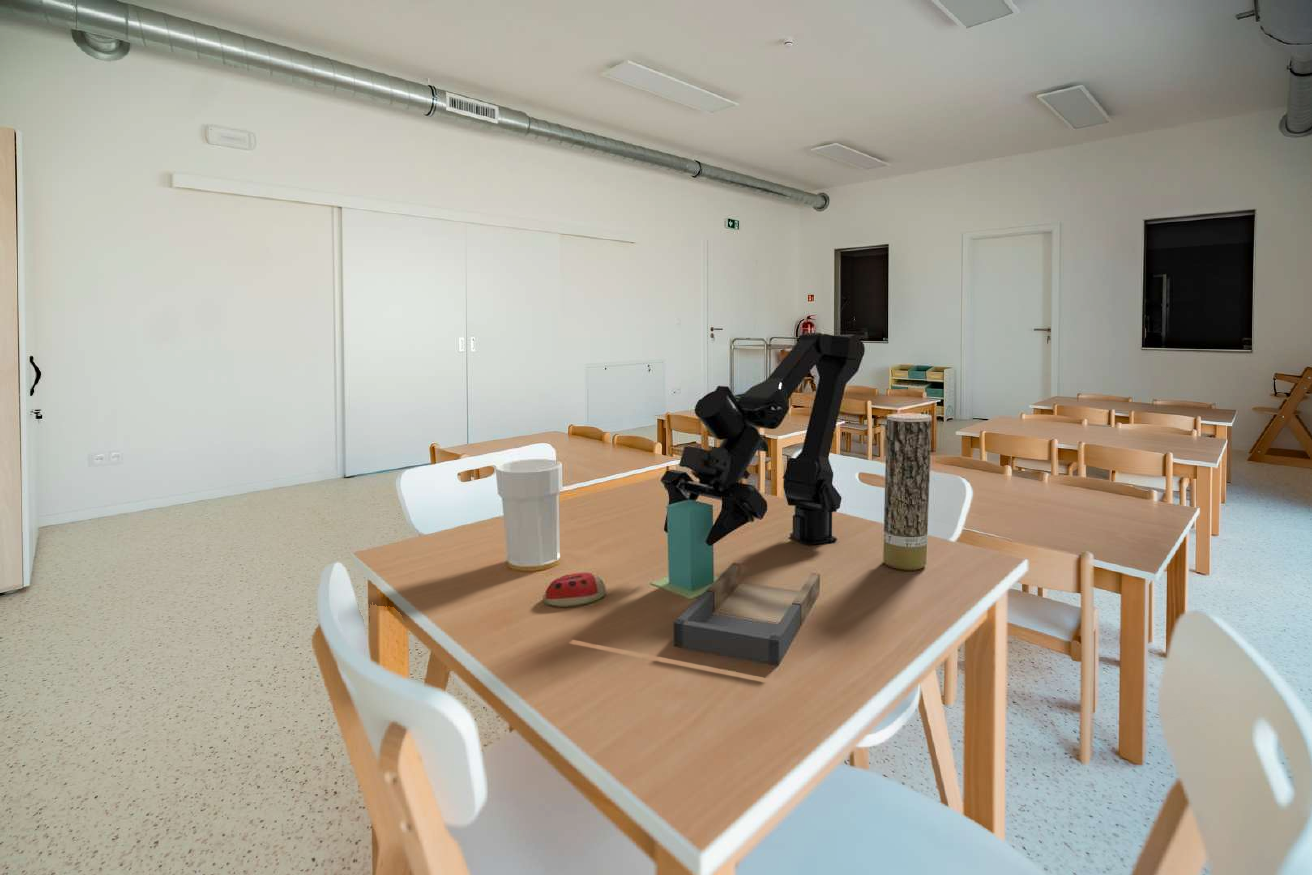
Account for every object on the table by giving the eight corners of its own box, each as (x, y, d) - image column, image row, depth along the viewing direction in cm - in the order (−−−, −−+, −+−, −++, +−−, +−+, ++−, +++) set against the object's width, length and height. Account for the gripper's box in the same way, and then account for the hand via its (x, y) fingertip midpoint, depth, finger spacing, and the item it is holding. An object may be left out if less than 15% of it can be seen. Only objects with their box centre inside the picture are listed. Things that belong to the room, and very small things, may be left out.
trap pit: (705, 614, 95) (705, 591, 95) (800, 630, 90) (800, 605, 89) (674, 648, 86) (673, 622, 85) (778, 668, 80) (778, 640, 79)
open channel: (733, 584, 107) (733, 562, 106) (819, 596, 101) (819, 573, 100) (706, 613, 96) (706, 590, 95) (800, 629, 90) (801, 604, 90)
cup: (580, 560, 119) (575, 463, 117) (527, 578, 111) (521, 475, 108) (540, 547, 127) (535, 456, 124) (488, 564, 119) (481, 466, 116)
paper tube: (927, 560, 115) (933, 413, 111) (924, 573, 109) (930, 419, 105) (885, 555, 118) (889, 412, 114) (880, 568, 112) (884, 418, 108)
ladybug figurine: (614, 599, 102) (613, 577, 102) (552, 614, 97) (551, 591, 97) (595, 585, 108) (594, 564, 107) (536, 599, 103) (535, 577, 103)
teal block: (691, 574, 110) (689, 499, 108) (713, 582, 106) (712, 504, 104) (668, 582, 106) (666, 505, 105) (691, 591, 103) (689, 511, 101)
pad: (691, 571, 113) (691, 568, 113) (731, 585, 106) (731, 582, 106) (650, 585, 107) (650, 582, 107) (691, 601, 100) (691, 598, 100)
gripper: (667, 421, 112) (617, 498, 107) (754, 432, 99) (703, 521, 93) (701, 460, 119) (656, 535, 113) (788, 476, 105) (741, 562, 99)
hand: (686, 537), depth 105 cm, fingers open, 9 cm apart
